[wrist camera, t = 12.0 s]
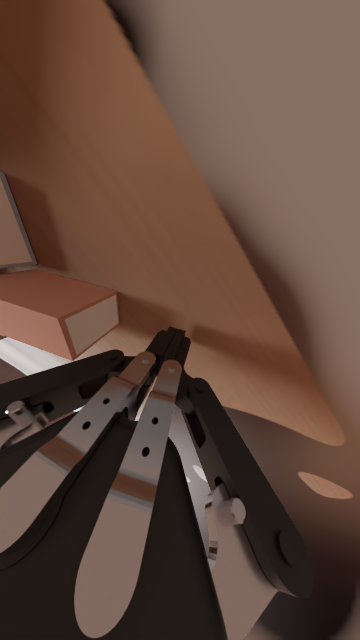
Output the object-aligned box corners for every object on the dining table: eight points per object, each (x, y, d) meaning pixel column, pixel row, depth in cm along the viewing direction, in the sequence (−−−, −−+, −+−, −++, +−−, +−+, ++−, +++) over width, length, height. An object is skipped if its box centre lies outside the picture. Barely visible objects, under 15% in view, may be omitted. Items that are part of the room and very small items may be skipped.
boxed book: (49, 301, 17) (-22, 326, 12) (37, 269, 15) (-55, 282, 10) (120, 323, 16) (73, 361, 11) (118, 290, 14) (58, 318, 9)
